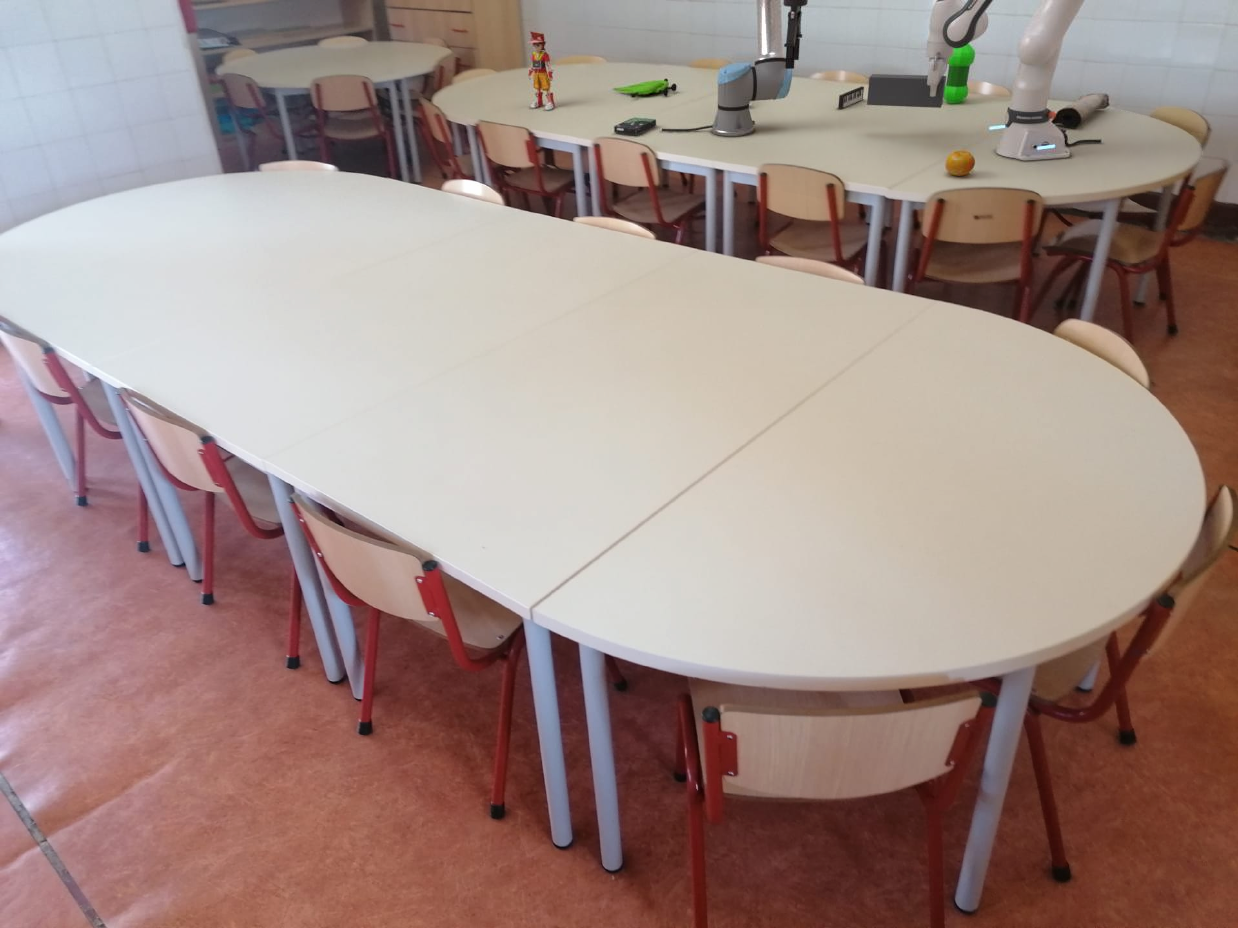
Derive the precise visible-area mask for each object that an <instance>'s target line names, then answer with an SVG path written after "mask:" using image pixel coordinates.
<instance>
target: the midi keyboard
mask: <svg viewBox="0 0 1238 928" xmlns="http://www.w3.org/2000/svg"><path fill="white" fill-rule="evenodd" d="M864 91H865V86H862V85H861V86H859V87H857V88H854V89H851V90H849V91H846V92H844V93H842V94H839V96H838V105H837V106H838V107H837V109H839V110H842V109H844V108H846V107H848V106H851V105H852V104H855V103H858V102H859V101H863V100H864Z"/></svg>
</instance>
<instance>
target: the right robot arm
mask: <svg viewBox="0 0 1238 928" xmlns="http://www.w3.org/2000/svg"><path fill="white" fill-rule="evenodd" d="M1085 1H1086V0H1041V2H1040V3H1039V5H1038V6H1037V9H1036V10H1035V12H1034V14H1033V16H1032V17H1031V19H1030V21H1029V23H1028V24H1027V25H1026V28H1025V29H1024V31H1023V33H1022V35H1021V37H1020V39H1019V40H1018V43H1017V48H1016V49H1017V50H1016V53H1017V57H1018V59H1019V65H1018V68H1017V72H1016V75H1015V78H1014V81H1013V86H1012V92H1011V96H1010V102H1009V106H1008V107H1007V110H1006V113H1005V118H1004V124H1003V125H993V126H989V130H997V129H1003V132H1002V135H1001V138H1000V141H999V142H998V145H997V147H996V149H995V152H996V154H997V155H1000V156H1003V157H1006V158H1011V159H1017V160H1020V161H1023V162H1024V161H1025V162H1026V161H1039V160H1040V161H1041V160H1052V159H1053V160H1054V159H1064V158H1065V159H1067V158H1069V157H1070V155H1071V150H1070V149H1069V148H1070V147H1073V146H1076V145H1078V144H1088V143H1089V144H1091V143H1093V144H1094V143H1095V144H1096V143H1097V144H1098V143H1102V139H1100V138H1099V139H1079V140H1076V141H1073V142H1072V143H1069V139H1068V138H1069V137H1068V134H1067V129H1065V128H1062V127H1061V128H1060V127H1058V126H1057V125H1056V124H1053V123H1052V120H1053V119H1054V117H1056V112H1055V111H1053V110H1051V109H1049V108H1047V105H1048V101H1049V96H1050V92H1051V86H1052V83H1053V79H1054V76H1055V72H1056V68H1057V66H1058V65H1057V64H1058V61H1059V57H1060V54H1061V49H1062V45H1063V41H1064V37H1065V35H1066V33H1067V32H1068V30H1069V28H1070V26H1071V25H1072V23H1073V21H1074V20H1075V18H1076V17H1077V14H1078V13H1079V12H1080V9H1081V8H1082V6H1083V4H1084V3H1085ZM993 2H994V0H967V1H966V2H965V1H963V0H936V1H935V2H934V3H933V6H932V9H931V14H930V18H929V25H928V29H929V35H928V37H927V41H926V48H925V49H926V50H925V57H927V58H928V62H929V66H928V67H929V68H928V73H927V75H928V79H927V85H931V86H930V90H931V91H930V96H932V97H934V96H935V95H936V91H937V85H938V84H939V82H940V80H941V78H942V77H943V76H945V74H946V72H947V68H948V65H949V64H948V60H949V57H952V56H953V53H954V48H962V47H964V46H966V45H967V44H968V43H969V44H970V43H971V42H974V41H975V40H977V39H978V38H980V37H981V36H983V35H984V34H985V33H986V31H987V29H988V27H989V17H988V14H987V13H986V11H987V10H988V8H989V7H990V6H991V5H992V3H993ZM1068 147H1069V148H1068Z"/></svg>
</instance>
